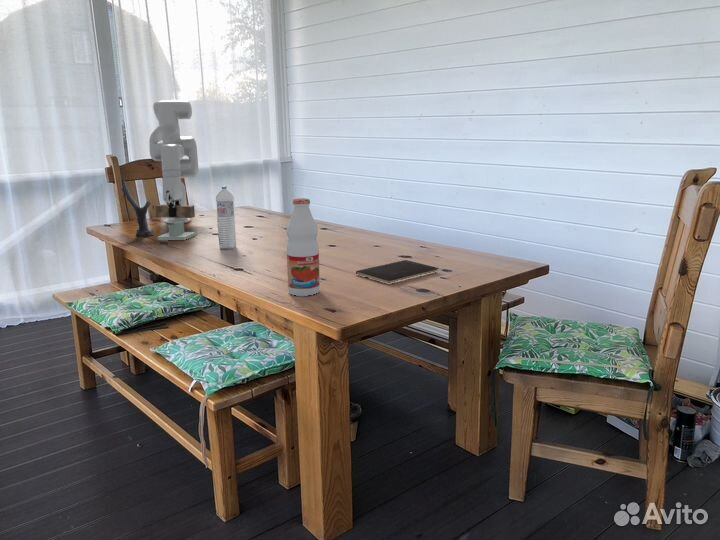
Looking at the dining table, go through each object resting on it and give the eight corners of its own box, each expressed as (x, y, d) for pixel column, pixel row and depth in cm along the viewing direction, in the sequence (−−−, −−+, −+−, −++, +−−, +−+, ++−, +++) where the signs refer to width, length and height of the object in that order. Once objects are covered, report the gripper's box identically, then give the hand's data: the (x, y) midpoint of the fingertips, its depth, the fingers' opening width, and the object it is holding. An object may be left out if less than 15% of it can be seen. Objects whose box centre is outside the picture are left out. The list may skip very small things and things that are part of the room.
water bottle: (215, 248, 235) (211, 186, 228) (230, 245, 239) (226, 184, 233) (225, 250, 230) (221, 187, 224) (239, 248, 235) (236, 186, 229)
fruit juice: (313, 286, 180) (311, 196, 173) (324, 294, 172) (322, 200, 165) (284, 290, 176) (280, 198, 169) (293, 298, 168) (290, 202, 161)
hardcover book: (438, 274, 196) (438, 267, 195) (388, 287, 181) (389, 280, 181) (404, 265, 208) (404, 259, 207) (355, 277, 193) (355, 270, 192)
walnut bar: (156, 217, 253) (155, 205, 252) (160, 215, 257) (159, 204, 255) (191, 218, 251) (190, 206, 249) (194, 216, 254) (194, 205, 253)
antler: (151, 233, 266) (146, 178, 260) (156, 236, 260) (151, 180, 254) (125, 236, 260) (119, 180, 254) (129, 239, 254) (123, 181, 247)
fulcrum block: (170, 234, 263) (169, 220, 261) (195, 235, 261) (194, 221, 259) (157, 240, 251) (156, 225, 249) (184, 240, 249) (183, 225, 248)
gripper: (172, 172, 258) (175, 213, 262) (154, 175, 241) (158, 219, 246) (188, 172, 257) (191, 213, 261) (171, 175, 240) (175, 219, 245)
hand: (175, 215), depth 253 cm, fingers closed on walnut bar, 4 cm apart
